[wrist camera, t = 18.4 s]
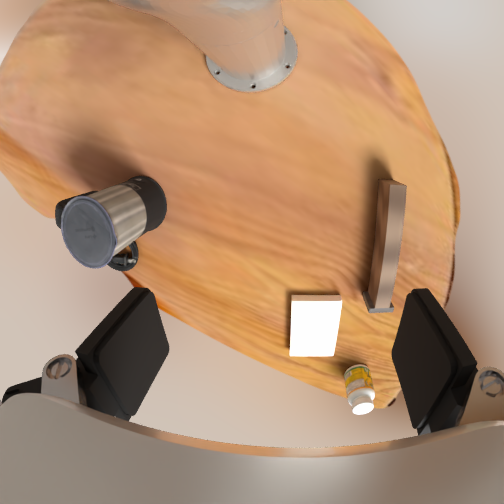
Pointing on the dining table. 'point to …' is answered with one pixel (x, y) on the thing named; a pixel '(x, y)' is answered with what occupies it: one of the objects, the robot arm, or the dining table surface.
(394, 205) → the bar
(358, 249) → the dining table surface
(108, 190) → the milk frother
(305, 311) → the tile
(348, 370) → the supplement bottle
